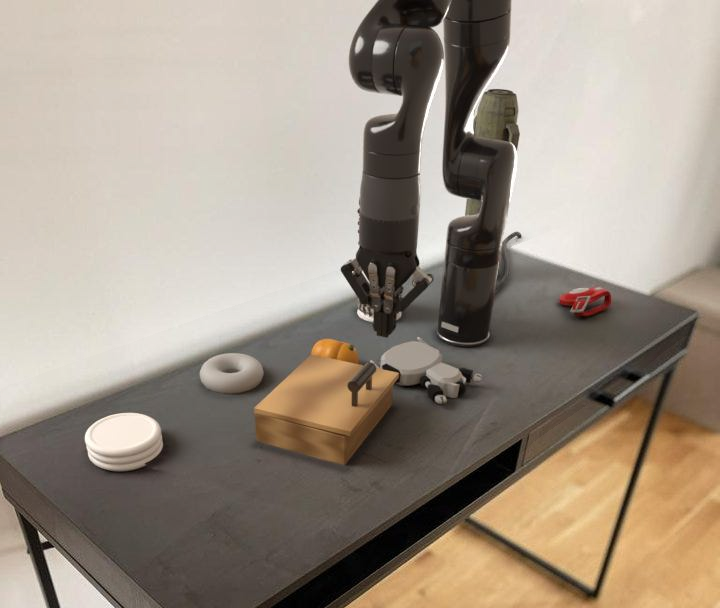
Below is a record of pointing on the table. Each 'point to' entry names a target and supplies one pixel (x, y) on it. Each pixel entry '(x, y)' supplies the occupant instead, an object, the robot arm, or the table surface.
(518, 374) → the table surface
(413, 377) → the robot toy
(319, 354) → the mango
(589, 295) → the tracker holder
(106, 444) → the coaster
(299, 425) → the wooden box
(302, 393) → the lid
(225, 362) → the donut
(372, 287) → the robot arm
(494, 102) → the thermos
